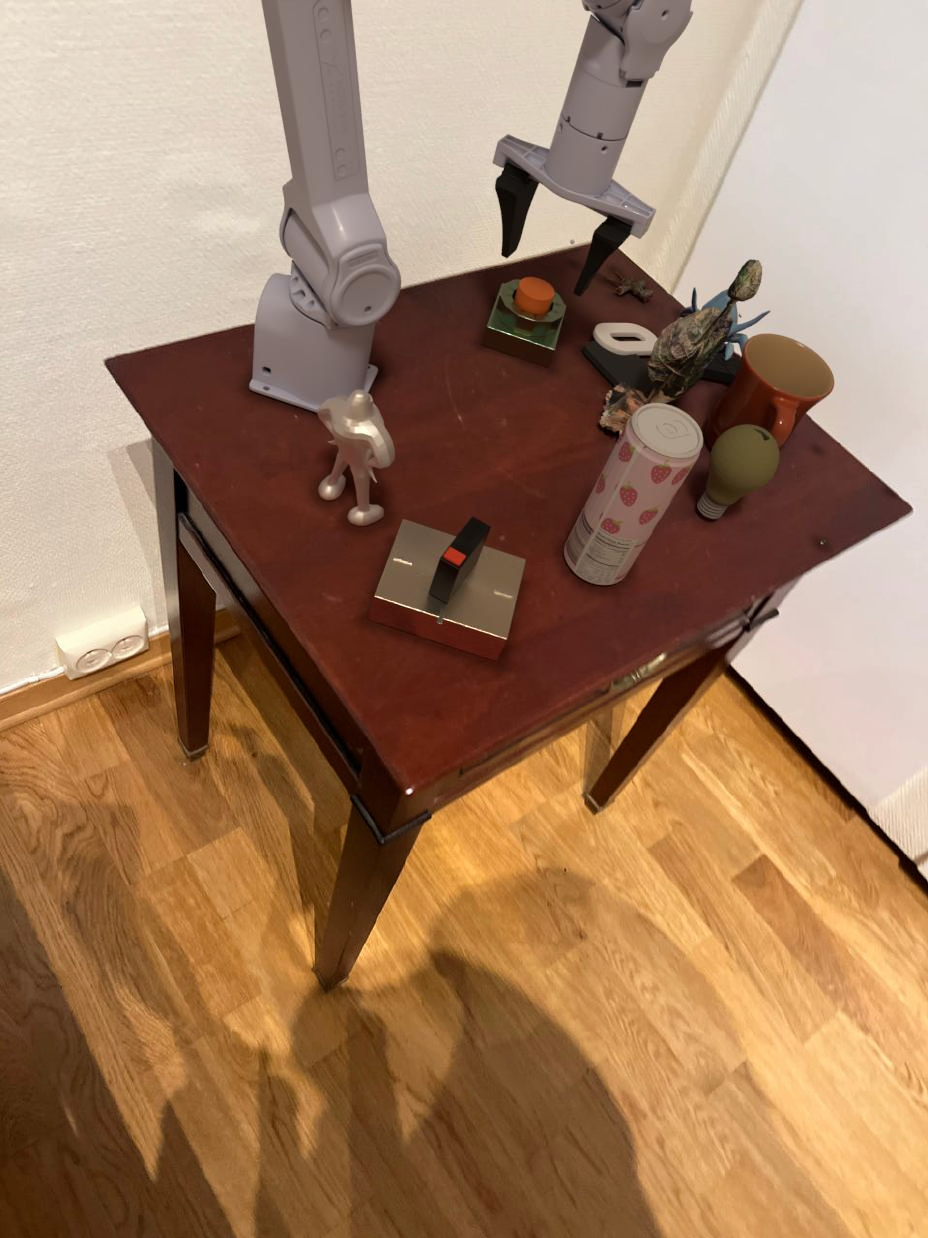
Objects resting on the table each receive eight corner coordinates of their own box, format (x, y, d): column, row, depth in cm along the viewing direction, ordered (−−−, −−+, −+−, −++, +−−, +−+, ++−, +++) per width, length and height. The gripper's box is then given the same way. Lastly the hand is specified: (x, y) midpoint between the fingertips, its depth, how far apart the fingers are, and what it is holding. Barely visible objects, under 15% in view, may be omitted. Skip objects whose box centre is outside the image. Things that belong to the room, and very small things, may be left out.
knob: (459, 550, 66) (473, 513, 63) (478, 560, 66) (492, 524, 63) (428, 592, 63) (440, 556, 60) (447, 603, 63) (460, 567, 60)
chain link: (611, 351, 88) (586, 322, 90) (609, 356, 88) (584, 327, 90) (668, 350, 92) (643, 322, 94) (666, 354, 92) (641, 327, 95)
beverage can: (638, 562, 74) (720, 432, 62) (605, 599, 71) (684, 469, 59) (584, 523, 75) (654, 388, 63) (549, 558, 72) (616, 423, 60)
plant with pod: (702, 419, 87) (821, 246, 71) (640, 468, 81) (754, 291, 65) (641, 369, 89) (743, 189, 73) (576, 413, 83) (672, 227, 66)
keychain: (617, 334, 91) (678, 397, 87) (615, 340, 92) (675, 402, 88) (582, 343, 89) (642, 408, 85) (579, 349, 89) (640, 413, 85)
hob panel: (365, 626, 64) (371, 601, 61) (398, 537, 69) (405, 511, 67) (495, 668, 64) (506, 645, 62) (517, 576, 70) (528, 552, 67)
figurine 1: (393, 520, 70) (421, 407, 61) (356, 545, 68) (379, 431, 58) (331, 468, 72) (349, 350, 63) (293, 490, 70) (306, 372, 60)
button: (511, 307, 85) (516, 291, 83) (517, 287, 87) (522, 272, 86) (546, 319, 85) (551, 304, 84) (551, 299, 87) (557, 284, 86)
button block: (481, 344, 86) (491, 310, 83) (496, 300, 91) (506, 266, 88) (547, 367, 87) (560, 334, 83) (559, 322, 91) (572, 289, 88)
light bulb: (741, 509, 81) (798, 429, 73) (727, 547, 78) (785, 468, 70) (686, 482, 81) (737, 400, 73) (670, 519, 78) (722, 437, 70)
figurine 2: (715, 328, 100) (763, 275, 94) (737, 404, 94) (790, 353, 88) (649, 299, 96) (694, 242, 90) (667, 377, 90) (718, 321, 84)
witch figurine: (665, 284, 97) (659, 299, 99) (585, 235, 102) (580, 250, 103) (638, 293, 94) (632, 309, 95) (556, 242, 98) (551, 257, 100)
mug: (695, 406, 88) (743, 321, 80) (775, 432, 89) (831, 351, 81) (690, 486, 81) (743, 402, 73) (778, 514, 82) (840, 434, 74)
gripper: (690, 145, 71) (628, 288, 82) (537, 68, 73) (496, 219, 84) (662, 175, 67) (600, 322, 78) (500, 93, 69) (461, 248, 80)
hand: (544, 271), depth 81 cm, fingers open, 7 cm apart
